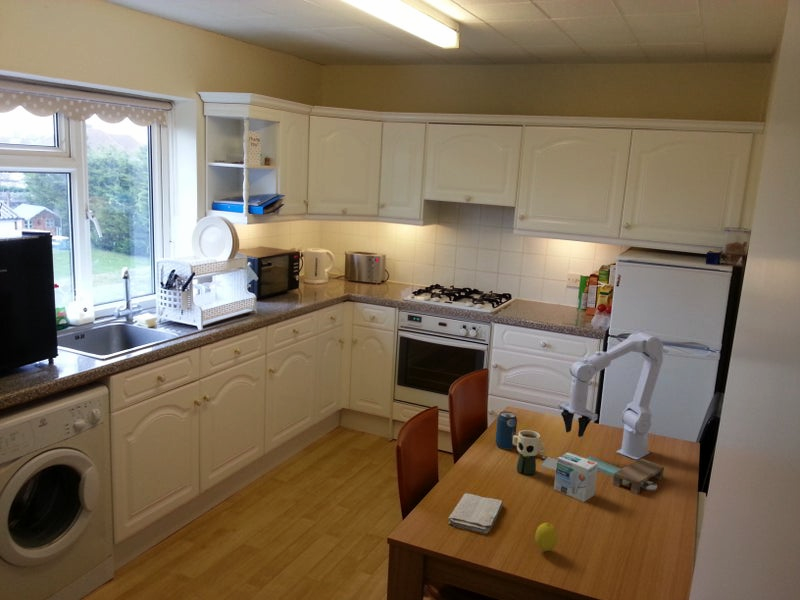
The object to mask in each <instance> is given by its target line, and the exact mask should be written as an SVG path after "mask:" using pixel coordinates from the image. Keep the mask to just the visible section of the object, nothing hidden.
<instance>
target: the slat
mask: <svg viewBox="0 0 800 600" xmlns="http://www.w3.org/2000/svg"><path fill="white" fill-rule="evenodd" d="M585 459H588V460H591V461H593V462H596V463H598V468H597V472H600V473H602V474H605V475H607V476H609V477H612V478H614V473H615V472H617V471H619V470H621V469H622V468H620V467H618V466H617V465H616V466H615V465H613V464H611V463H608V462H605V461H602V460H600V459H598V458H595V457H593V456H590V455H589V456H587V457H585ZM622 482H623V483H627V484H632V483H631V482H628V481H626V480H623V481H622Z"/></svg>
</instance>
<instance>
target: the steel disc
mask: <svg viewBox="0 0 800 600" xmlns="http://www.w3.org/2000/svg"><path fill="white" fill-rule="evenodd" d="M640 488H642V489H643V490H646V491H650V492H652V491H657V490H658V484H657V483H656V482H654V481H650V480H646V481H644V482H643V483H641V487H640ZM656 489H657V490H656Z"/></svg>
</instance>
